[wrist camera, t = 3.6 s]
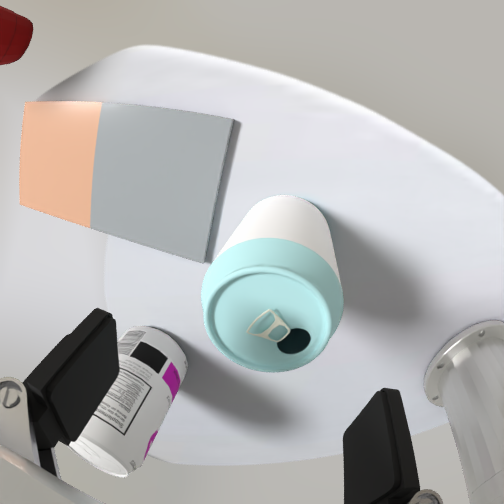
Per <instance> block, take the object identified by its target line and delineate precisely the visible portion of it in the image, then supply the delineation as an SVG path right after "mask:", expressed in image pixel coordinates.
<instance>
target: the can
mask: <svg viewBox="0 0 504 504" xmlns="http://www.w3.org/2000/svg"><path fill="white" fill-rule="evenodd" d="M201 301H202V308H203V312H204V324H205V328H206V331H207V333H208V336H209V338H210V339H211V341H212V342H213V344H214V345H215V346H216V348H217V349H218V350H219V351H220V352H221V353H222V354H223V355H225V356H226V357H227V358H229V359H230V360H232V361H233V362H235V363H237V364H239V365H241V366H243V367H246V368H249V369H252V370H256V371H261V372H285V371H290V370H293V369H297V368H299V367H302V366H304V365H306V364H308V363H309V362H311V361H312V360H314V359H315V358H316V357H317V356H318V355H319V354H320V353H321V352H322V351H323V350H324V348H325V347H326V345H327V343H328V341H329V339H330V338H331V337H332V335H333V334H334V332H335V331H336V329H337V327H338V325H339V323H340V320H341V317H342V313H343V305H344V300H343V292H342V286H341V281H340V276H339V271H338V266H337V262H336V257H335V252H334V248H333V243H332V239H331V234H330V230H329V226H328V224H327V221H326V219H325V218H324V216H323V215H322V213H321V212H320V211H319V210H318V209H317V208H316V207H315V206H314V205H313V204H311V203H310V202H308V201H306V200H304V199H302V198H299V197H296V196H290V195H278V196H273V197H269V198H266V199H264V200H262V201H261V202H259V203H257V204H256V205H255V206H254V207H253V208H252V209H251V210H250V211H249V212H248V213H247V215H246V216H245V218H244V219H243V220H242V222H241V223H240V225H239V226H238V227H237V229H236V230H235V232H234V233H233V234H232V236H231V237H230V239H229V240H228V241H227V243H226V244H225V246H224V247H223V249H222V250H221V251H220V253H219V254H218V256H217V257H216V258H215V260H214V261H213V263H212V264H211V266H210V267H209V269H208V271H207V273H206V275H205V277H204V280H203V284H202V291H201Z"/></svg>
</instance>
